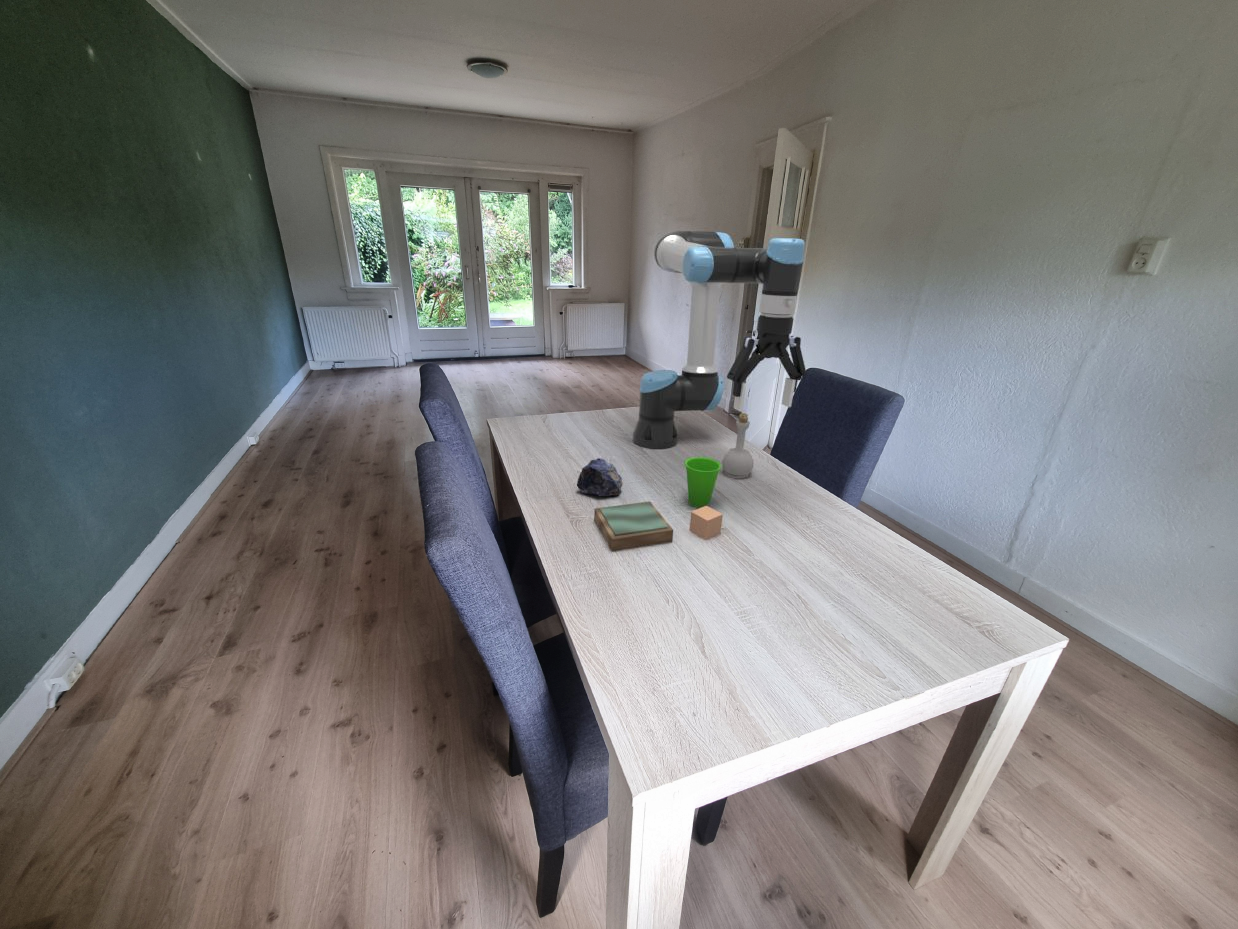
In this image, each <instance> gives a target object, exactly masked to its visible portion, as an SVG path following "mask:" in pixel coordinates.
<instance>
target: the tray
mask: <svg viewBox="0 0 1238 929" xmlns="http://www.w3.org/2000/svg"><path fill="white" fill-rule="evenodd" d="M593 518H594V522H595V524H596V525H597V527H598V529H599V531H600V532H601V534H602V536H603V538H604V539H605V542H606V543H607V545H608V547H609V549H610V550H611V552H617V551H623V550H628V549H629V550H631V549H636V548H641V547H642V548H643V547H649V546H655V545H660V544H667V543H673V539H674V529H673V528H672V526H671V525H670V524H669V523H668V522H667V521H666V519H665V517H663V516H662V514H661V512H659V511H658V509H657V507H655V505H654V504H653V503H652V501H650V500H649V501H643V502H642V501H641V502H636V503H635V502H633V503H626V504H620V505H618V504H617V505H611V506H604V507H598V508H597V507H596V508H594V517H593Z"/></svg>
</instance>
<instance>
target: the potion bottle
mask: <svg viewBox="0 0 1238 929" xmlns="http://www.w3.org/2000/svg"><path fill="white" fill-rule="evenodd" d="M738 416H739V418H738V420H736V421H735V425H736V428H737V435H736V442H735V447H733V448H732V447H731V448H729V449H728V451H727V452H726V453H725V454H724V456H723V459H722V461H721V466H722V469H723V470H724V474H725V475H726V476H727V477H728V478H733V479H745V478H747V477H749V474H750V473H752V471H753V468H754V466H755V465H754V460H753V456H752V454H751V453H750V450H748V449H745V447H744V446H745V441H746V440H745V439H746V432H747V429H749V427H750V425H751V424H750V423H751V422H750V421H748V420H749V417H748V416H749V415H748V413H744V412H743V413H742V412H741V413H739V415H738Z"/></svg>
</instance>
